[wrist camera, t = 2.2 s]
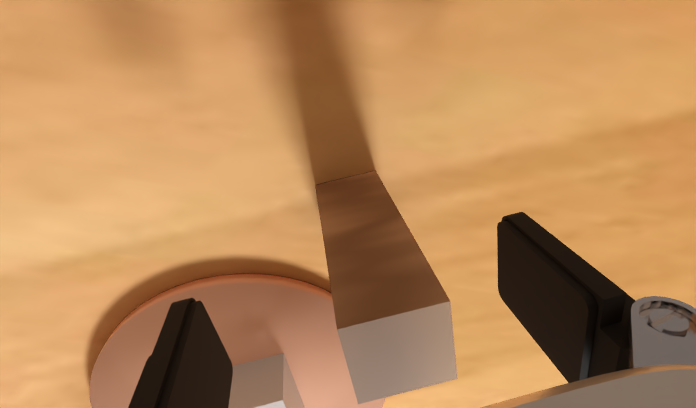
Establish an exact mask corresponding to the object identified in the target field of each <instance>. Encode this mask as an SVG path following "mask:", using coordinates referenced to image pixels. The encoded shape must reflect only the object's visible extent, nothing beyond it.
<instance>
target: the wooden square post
mask: <svg viewBox="0 0 696 408" xmlns="http://www.w3.org/2000/svg"><path fill="white" fill-rule="evenodd" d="M315 186H316V192H317V199H318V206H319V213H320V219H321V226H322V233H323V239H324V246H325V253H326V259H327V266H328V273H329V279H330V286H331V293H332V300H333V306H334V313H335V320H336V326H337V331H338V335H339V338H340V342H341V345H342V349H343V352H344V356H345V360H346V363H347V367H348V370H349V374H350V377H351V381H352V384H353V388H354V391H355V395H356V398H357V402H358V404H362V403H366V402H369V401H373V400H377V399H381V398H385V397H389V396H393V395H397V394H400V393H404V392H408V391H412V390H416V389H420V388H424V387H427V386H431V385H435V384H439V383H443V382H447V381H451V380H455V379H457V368H456V358H455V347H454V337H453V326H452V316H451V305H450V300H449V298H448V297H447V295H446V293H445V291H444V290H443V288H442V286H441V284H440V283H439V281H438V279H437V277H436V276H435V274H434V272H433V270H432V269H431V267H430V265H429V263H428V262H427V260H426V258H425V256H424V255H423V253H422V251H421V249H420V248H419V246H418V244H417V242H416V241H415V239H414V237H413V235H412V234H411V232H410V230H409V228H408V227H407V225H406V223H405V221H404V220H403V218H402V216H401V214H400V213H399V211H398V209H397V207H396V206H395V204H394V202H393V200H392V199H391V197H390V195H389V193H388V192H387V190H386V188H385V186H384V185H383V183H382V181H381V179H380V178H379V176H378V174H377V172H376V171H372V172H368V173H364V174H360V175H356V176H351V177H347V178H343V179H339V180H334V181H330V182H326V183H322V184H317V185H315Z"/></svg>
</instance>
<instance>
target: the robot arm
mask: <svg viewBox="0 0 696 408" xmlns="http://www.w3.org/2000/svg"><path fill="white" fill-rule="evenodd" d="M497 237H498V290H499V294H500V296H501V298H502V300H503V301H504V302H505V304H506V305H507V306H508V307H509V309H510V310H511V311H512V312H513V314H514V315H515V316H516V317H517V319H518V320H519V321H520V322H521V324H522V325H523V326H524V327H525V329H526V330H527V331H528V332H529V334H530V335H531V336H532V337H533V339H534V340H535V341H536V342H537V344H538V345H539V346H540V347H541V349H542V350H543V351H544V352H545V354H546V355H547V356H548V357H549V359H550V360H551V361H552V362H553V364H554V365H555V366H556V367H557V369H558V370H559V371H560V372H561V374H562V375H563V376H564V377H565V379H566V380H567V381H568V382H569V383H568V384H564V385H560V386H556V387H553V388H549V389H545V390H542V391H538V392H535V393H531V394H528V395H524V396H521V397H517V398H514V399H510V400H506V401H503V402H499V403H496V404H492V405H489V406H485V407H482V408H696V309H695V308H694V307H692V306H690V305H688V304H686V303H683V302H681V301H679V300H675V299H671V298H667V297H658V296H651V297H644V298H641V299H638V300H636V301H635V300H634V299H633V298H631V297H630V296H629V295H627V293H626V292H624V291H623V290H622V289H620V288H619V287H618V286H617V285H615V284H614V283H613V282H612V281H610V280H609V279H608V278H606V277H605V276H604V275H603V274H601V273H600V272H599V271H598V270H596V269H595V268H594V267H592V266H591V265H590V264H589V263H587V262H586V261H585V260H584V259H582V258H581V257H580V256H578V255H577V254H576V253H575V252H573V251H572V250H571V249H569V248H568V247H567V246H566V245H564V244H563V243H562V242H561V241H559V240H558V239H557V238H555V237H554V236H553V235H552V234H550V233H549V232H548V231H547V230H545V229H544V228H543V227H541V226H540V225H539V224H538V223H536V222H535V221H534V220H533V219H531V218H530V217H529V216H527V215H526V214H525V213H523V212H519V213H515V214H511V215H507V216H504V217H503V218H502V222H499V223H498V226H497ZM232 376H233V367H232V362H231V360H230V358H229V356H228V354H227V352H226V350H225V348H224V346H223V344H222V341H221V339H220V337H219V335H218V333H217V331H216V329H215V327H214V325H213V323H212V321H211V319H210V317H209V315H208V313H207V311H206V309H205V307H204V305H203V303H202V302H201V301H196V300H195V299H194V298H188V299H184V300H180V301H176V302H173V303H172V304H171V306H170V308H169V311H168V313H167V316H166V318H165V321H164V324H163V326H162V329H161V332H160V334H159V337H158V339H157V342H156V345H155V347H154V350H153V353H152V355H150V356H149V357H148V359H147V361H146V363H145V366H144V368H143V371H142V373H141V376H140V379H139V381H138V384H137V386H136V389H135V391H134V394H133V396H132V399H131V402H130V404H129V407H128V408H228V406H229V399H230V391H231V383H232Z"/></svg>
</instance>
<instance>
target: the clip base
mask: <svg viewBox="0 0 696 408" xmlns="http://www.w3.org/2000/svg"><path fill="white" fill-rule="evenodd" d="M188 298H194V299H195V300H196V301H201V302H202V303H203V305H204V307H205V309H206V311H207V313H208V315H209V317H210V319H211V321H212V323H213V325H214V327H215V329H216V331H217V333H218V335H219V337H220V339H221V341H222V344H223V346H224V348H225V350H226V352H227V354H228V356H229V358H230V360H231V362H232V367H233V376H232V383H231V391H230V399H229V406H228V408H382V407H383V404H384V402H385V398H386V397H385V398H381V399H377V400H373V401H369V402H366V403H362V404H358V402H357V398H356V395H355V391H354V388H353V384H352V381H351V377H350V374H349V370H348V367H347V363H346V360H345V356H344V352H343V349H342V345H341V342H340V338H339V335H338V331H337V326H336V320H335V313H334V306H333V300H332V293H330V292H328V291H326V290H325V289H322V288H320V287H317V286H314V285H312V284H309V283H306V282H303V281H299V280H295V279H291V278H287V277H280V276H273V275H266V274H233V275H220V276H215V277H209V278H204V279H199V280H195V281H192V282H189V283H186V284H182V285H179V286H176V287H174V288H172V289H169V290H167V291H165V292H163V293H160V294H158V295H156V296H155V297H153V298H151V299H150V300H148V301H146V302H145V303H143V304H141V305H140V306H139V307H138V308H136V309H135V310H134V311H133V312H131V313H130V314H129V315H127V316H126V317H125V319H124V320H123V321H122V322H121V323H120V324H119V325H118V326H117V327H116V328H115V329H114V331H113V332H112V334H111V335H110V337H109V338H108V340H107V341H106V343H105V345H104V347H103V348H102V350H101V352H100V353H99V355H98V358H97V360H96V362H95V365H94V367H93V370H92V374H91V379H90V402H91V406H92V408H128V407H129V404H130V402H131V399H132V396H133V394H134V391H135V389H136V386H137V384H138V381H139V379H140V376H141V373H142V371H143V368H144V366H145V363H146V361H147V359H148V357H149V356H150V355H152V353H153V350H154V347H155V345H156V342H157V339H158V337H159V334H160V332H161V329H162V326H163V324H164V321H165V318H166V316H167V313H168V311H169V308H170V306H171V304H172V303H173V302H176V301H180V300H184V299H188Z"/></svg>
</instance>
